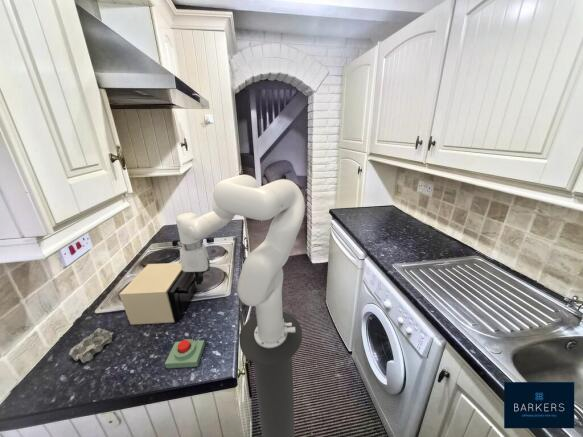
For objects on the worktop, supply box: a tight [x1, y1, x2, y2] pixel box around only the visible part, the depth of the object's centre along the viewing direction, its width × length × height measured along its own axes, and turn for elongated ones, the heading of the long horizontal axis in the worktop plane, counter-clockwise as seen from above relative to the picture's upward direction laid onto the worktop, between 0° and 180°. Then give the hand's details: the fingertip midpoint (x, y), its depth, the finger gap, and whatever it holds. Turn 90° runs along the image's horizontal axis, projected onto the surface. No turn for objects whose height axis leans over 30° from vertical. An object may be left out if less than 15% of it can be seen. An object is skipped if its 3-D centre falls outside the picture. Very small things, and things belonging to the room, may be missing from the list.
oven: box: [118, 262, 183, 325], centre depth 97 cm, size 17×20×15 cm
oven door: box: [170, 271, 197, 323], centre depth 97 cm, size 6×20×15 cm, turn 3°
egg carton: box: [68, 327, 114, 364], centre depth 80 cm, size 11×8×4 cm
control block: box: [164, 338, 206, 369], centre depth 76 cm, size 10×8×4 cm
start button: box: [178, 339, 190, 353], centre depth 75 cm, size 4×4×2 cm
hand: (199, 282), depth 96 cm, fingers closed
